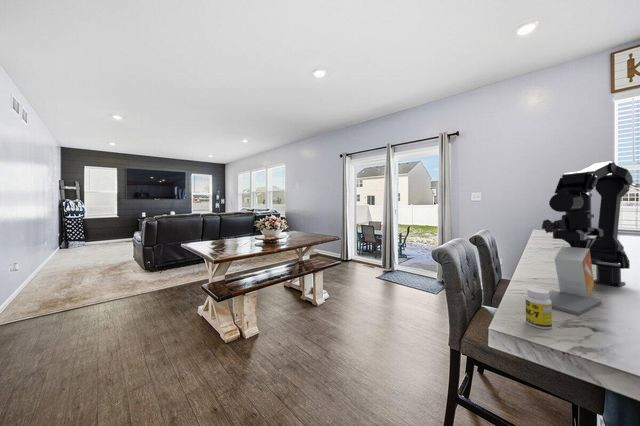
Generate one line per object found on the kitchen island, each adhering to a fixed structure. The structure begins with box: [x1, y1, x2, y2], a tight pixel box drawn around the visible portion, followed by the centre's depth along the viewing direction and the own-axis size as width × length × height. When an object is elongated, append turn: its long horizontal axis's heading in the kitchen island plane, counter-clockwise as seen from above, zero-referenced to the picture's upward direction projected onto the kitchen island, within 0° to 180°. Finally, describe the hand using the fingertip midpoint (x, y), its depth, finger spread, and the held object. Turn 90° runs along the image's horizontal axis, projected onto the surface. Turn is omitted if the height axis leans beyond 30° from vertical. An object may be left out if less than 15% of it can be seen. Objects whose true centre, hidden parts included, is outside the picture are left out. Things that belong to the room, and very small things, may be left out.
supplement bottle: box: [525, 287, 553, 330], centre depth 60 cm, size 5×5×8 cm
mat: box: [548, 289, 603, 316], centre depth 72 cm, size 15×11×1 cm
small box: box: [554, 245, 595, 298], centre depth 77 cm, size 8×6×13 cm
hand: (579, 260), depth 79 cm, fingers closed
